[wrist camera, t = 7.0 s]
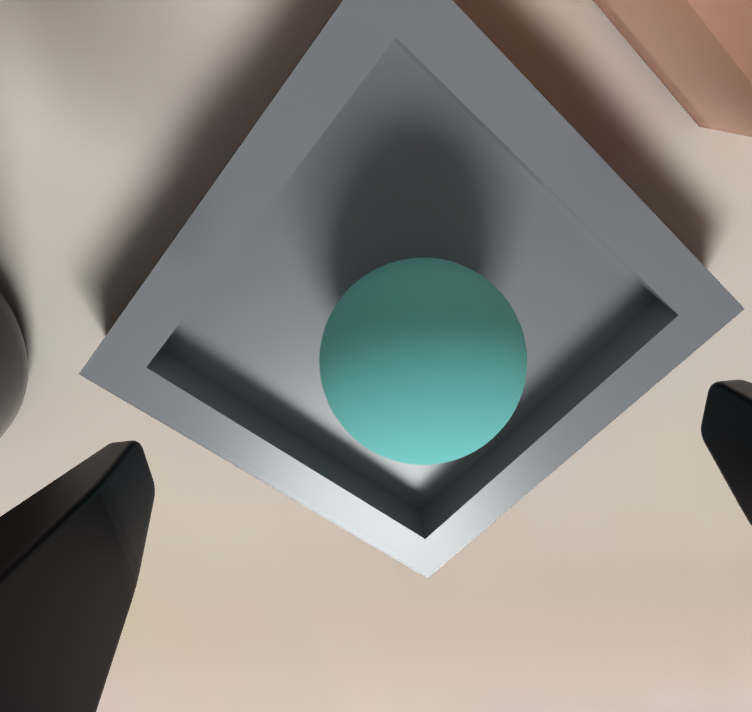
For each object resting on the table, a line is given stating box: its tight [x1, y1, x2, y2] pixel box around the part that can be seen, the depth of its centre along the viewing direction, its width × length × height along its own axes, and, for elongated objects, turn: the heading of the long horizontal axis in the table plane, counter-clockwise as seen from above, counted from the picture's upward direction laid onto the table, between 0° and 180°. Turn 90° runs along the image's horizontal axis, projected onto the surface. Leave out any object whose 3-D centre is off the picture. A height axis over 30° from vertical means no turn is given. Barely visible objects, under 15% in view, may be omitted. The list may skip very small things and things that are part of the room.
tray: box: [79, 0, 744, 578], centre depth 13 cm, size 10×10×2 cm
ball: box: [319, 257, 527, 465], centre depth 11 cm, size 4×4×4 cm
